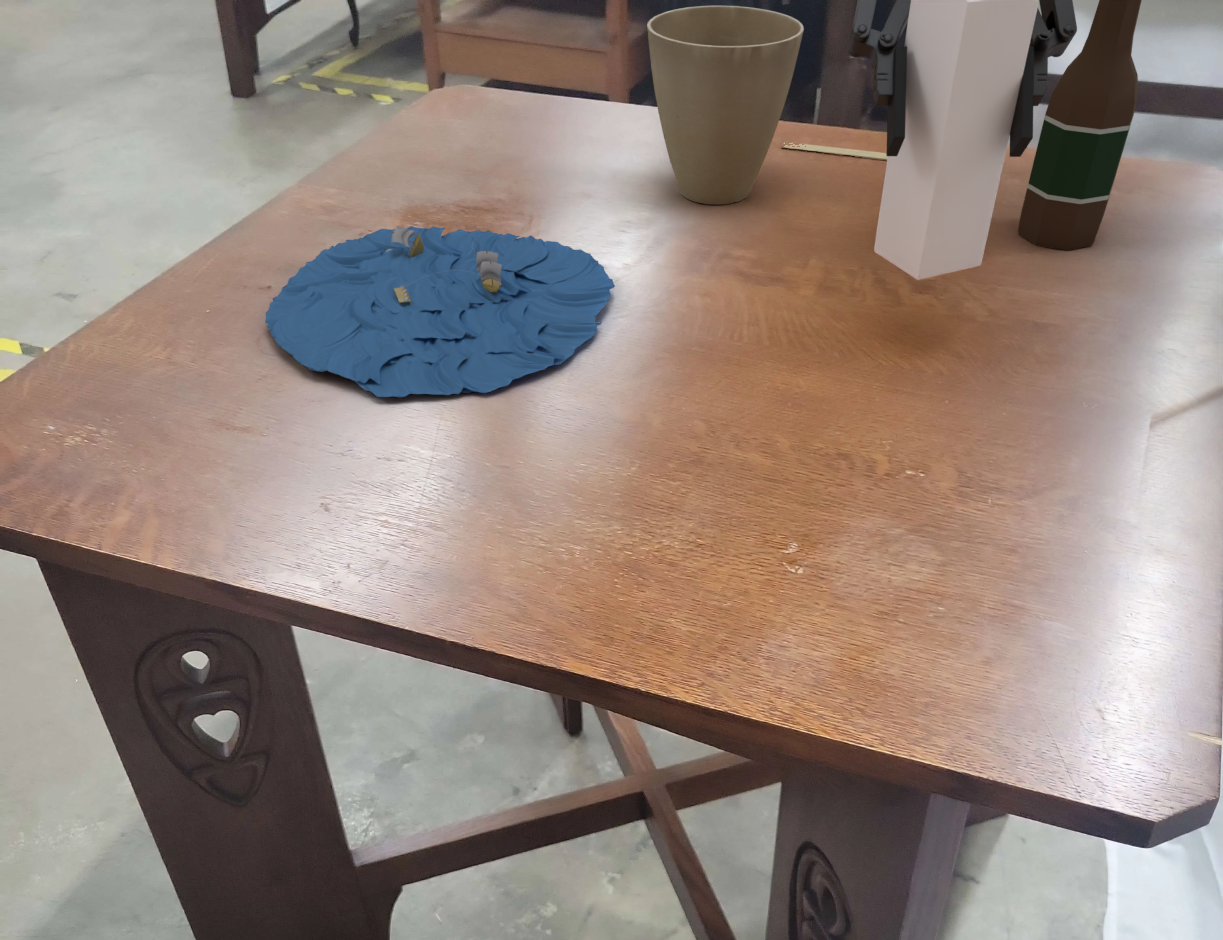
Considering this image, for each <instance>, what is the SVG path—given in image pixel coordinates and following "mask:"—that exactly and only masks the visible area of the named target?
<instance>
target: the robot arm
mask: <svg viewBox="0 0 1223 940" xmlns="http://www.w3.org/2000/svg"><path fill="white" fill-rule="evenodd" d="M877 1H878V0H857V1H856V7H855V12H854V17H853V21H852V27H851V31H850V37H849V40H848V47H847V52H848V54H849V56H851V57H853V58H860V57H865V58H867V59H869V60H870V61H871V63H870V67H871V69H872V70H873V81H872V82H873V86H872V87H873V89H872V90H873V91H872V99H873V100H872V101H873V102H874V105H875V106H877V107H878V106H879V107H880V106H881V107H882V106H883V107H887V108H886V109H887V113H886V114H887V117H886V121H887V122H886V153H887V154H886V156H897V155H898V153H899V151H900V148H901V146H902V143H903V141H904V139H905V115H906V68H907V47H904V46H898V43H899V41H900V40H901V37H902V35H903V33H904V30H905V29H906V28H907V24H908V17H909V11H910V4H911V0H895V2H894V4H893V6H892V8H891V10H890V12H889V14H888V17H887V20H886V22H885V23H884V26H883V28H882V30H881V31H880V30H877V29H874V28H872V26H873V21H874V16H875V10H876V6H877ZM1039 8H1040V9H1039ZM1077 25H1078V24H1077V18H1076V13H1075V7H1074V1H1073V0H1039V7H1038V8H1037V13H1036V17H1035V22H1034V27H1033V31H1032V36H1031V40H1030V45H1029V49H1028V54H1027V58H1026V63H1025V68H1024V72H1023V76H1022V81H1021V85H1020V90H1019V95H1018V99H1017V104H1016V108H1015V113H1014V117H1013V122H1012V126H1011V131H1010V136H1009V158H1021V157H1022V155H1023V154H1024V152H1025V150H1026V149H1027V148H1028V146H1029V144H1030V143H1031V142H1032V140H1033V138H1034V107H1038V106H1039V105H1040V103H1041V101H1042V100H1043V98H1044V97H1045V95H1046V93H1047V90H1048V77H1049V76H1048V72H1049V71H1048V70H1049V58H1050V57H1053V58H1059V57H1061V56H1063V55H1064V53H1065V51H1066V50H1067V48H1068V46H1069V45H1070V44H1071V42H1072V40H1073V38H1074V37H1075V36H1076V34H1077V32H1078V26H1077Z"/></svg>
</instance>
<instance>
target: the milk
mask: <svg viewBox="0 0 1223 940" xmlns="http://www.w3.org/2000/svg"><path fill="white" fill-rule="evenodd" d="M1039 5H1040V3H1039V0H911V4H910V11H909V17H908V22H907V24H906V32H905V38H904V44H903V47H907V68H906V115H905V139H904V141H903V143H902V146H901V148H900V151H899V153H898V155H897V156H888V159H887V161H886V166H885V171H884V172H885V173H884V180H883V185H882V186H883V187H882V193H881V200H880V206H879V214H878V218H877V219H878V220H877V226H876V232H875V239H874V247H873V252H874V253H875V254H877V255H879V256H880V257H881V258H883V259H884V260H886V261H888V262H889V263H891V264H893V266H895V267H897V268H899V270H901V271H903V272H905V273H906V274H908V275H909V276H911V277H912V278H914V279H915V280H917V281H920V280H925V279H929V278H933V277H937V276H942V275H946V274H951V273H955V272H960V271H963V270H969V269H973V268H978V267H980V266H981V265H982V263H983V258H984V254H985V249H986V245H987V240H988V235H989V231H990V226H991V223H992V218H993V213H994V208H995V205H996V203H995V202H996V199H997V195H998V190H999V186H1000V181H1001V177H1002V172H1003V168H1004V163H1005V159H1006V154H1007V149H1008V144H1009V141H1010V131H1011V126H1012V122H1013V117H1014V113H1015V108H1016V104H1017V99H1018V95H1019V90H1020V85H1021V81H1022V76H1023V72H1024V68H1025V63H1026V58H1027V54H1028V49H1029V45H1030V40H1031V36H1032V31H1033V27H1034V22H1035V17H1036V13H1037V8H1038V9H1039Z"/></svg>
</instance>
